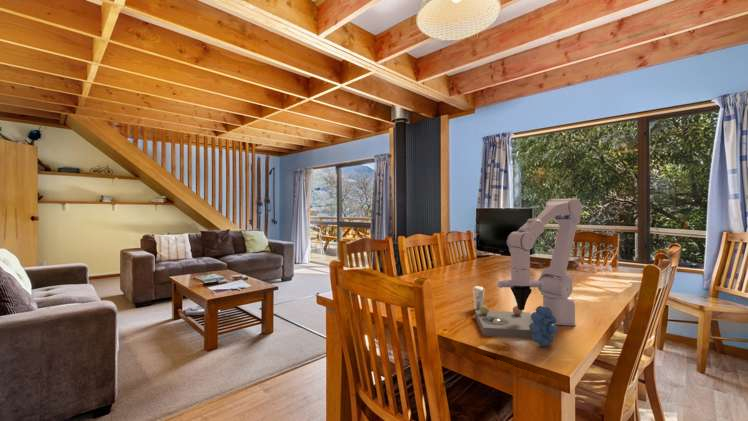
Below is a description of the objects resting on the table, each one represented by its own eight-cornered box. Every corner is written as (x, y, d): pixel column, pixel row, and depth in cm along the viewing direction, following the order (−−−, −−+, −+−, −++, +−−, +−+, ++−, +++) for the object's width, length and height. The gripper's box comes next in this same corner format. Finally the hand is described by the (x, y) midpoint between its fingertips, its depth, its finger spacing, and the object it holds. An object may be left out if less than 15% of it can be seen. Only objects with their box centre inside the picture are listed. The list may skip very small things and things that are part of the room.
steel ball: (489, 321, 110) (495, 328, 110) (491, 325, 107) (498, 332, 107) (496, 315, 110) (503, 322, 109) (498, 318, 106) (505, 325, 106)
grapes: (546, 357, 87) (546, 312, 87) (523, 348, 93) (523, 306, 93) (569, 347, 93) (569, 305, 93) (546, 339, 99) (546, 300, 99)
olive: (488, 313, 116) (487, 304, 116) (489, 316, 113) (489, 306, 113) (478, 312, 117) (478, 303, 117) (480, 315, 114) (480, 306, 114)
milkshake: (480, 312, 125) (480, 286, 125) (470, 308, 130) (470, 283, 129) (488, 310, 127) (488, 285, 127) (478, 307, 132) (478, 282, 132)
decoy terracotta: (521, 313, 115) (521, 304, 115) (523, 316, 112) (523, 307, 112) (511, 313, 116) (511, 304, 116) (514, 316, 113) (513, 307, 113)
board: (529, 319, 117) (529, 312, 117) (547, 339, 99) (547, 331, 99) (475, 316, 120) (475, 310, 120) (483, 335, 102) (483, 327, 102)
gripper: (537, 265, 110) (538, 305, 110) (494, 265, 111) (494, 305, 111) (547, 269, 103) (547, 312, 103) (501, 269, 104) (501, 311, 104)
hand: (520, 309), depth 107 cm, fingers closed
